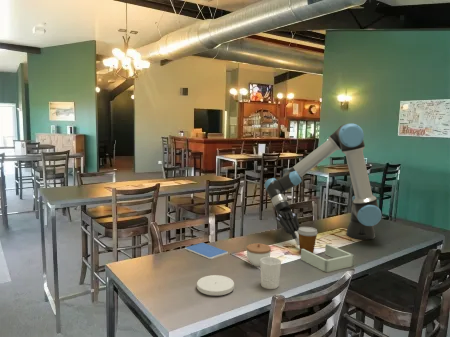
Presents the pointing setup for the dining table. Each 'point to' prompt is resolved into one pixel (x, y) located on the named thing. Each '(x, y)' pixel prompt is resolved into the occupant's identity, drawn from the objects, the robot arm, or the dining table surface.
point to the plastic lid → (215, 285)
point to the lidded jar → (257, 253)
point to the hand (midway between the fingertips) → (300, 244)
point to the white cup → (270, 272)
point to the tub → (338, 262)
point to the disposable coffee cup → (307, 238)
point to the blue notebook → (206, 250)
